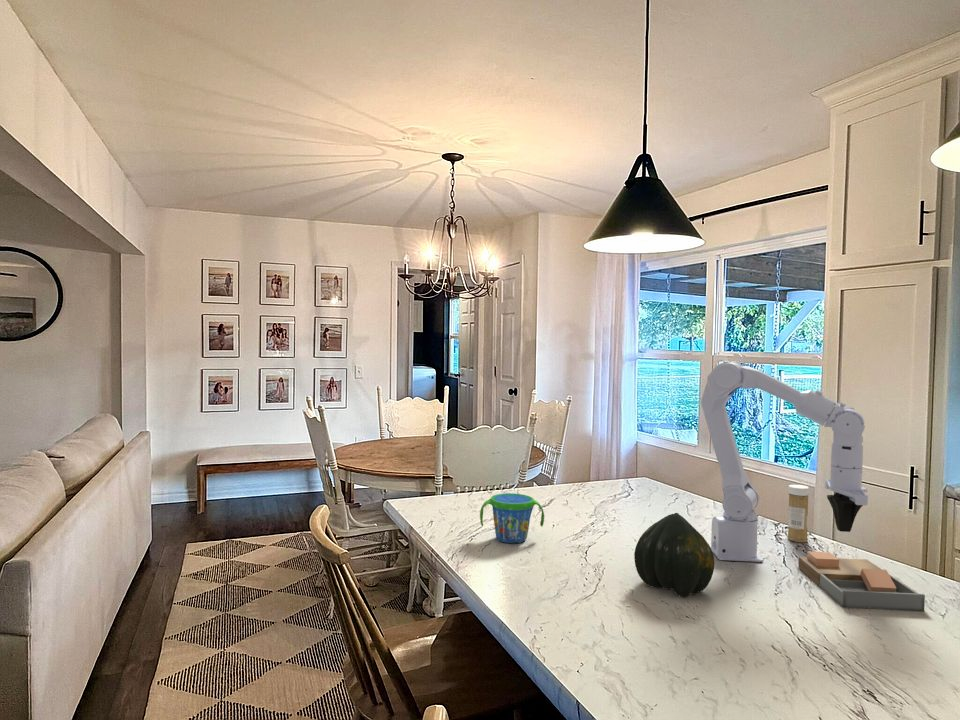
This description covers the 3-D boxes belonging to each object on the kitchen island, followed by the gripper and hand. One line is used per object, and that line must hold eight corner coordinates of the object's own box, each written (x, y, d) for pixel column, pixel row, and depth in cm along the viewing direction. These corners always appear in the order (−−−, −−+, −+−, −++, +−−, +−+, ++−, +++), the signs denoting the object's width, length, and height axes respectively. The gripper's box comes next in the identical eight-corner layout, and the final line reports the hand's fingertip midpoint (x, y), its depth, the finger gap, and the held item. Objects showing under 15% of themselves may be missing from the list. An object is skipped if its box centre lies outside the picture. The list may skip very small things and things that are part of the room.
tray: (843, 607, 116) (843, 591, 116) (819, 586, 126) (819, 571, 126) (924, 611, 115) (924, 594, 115) (893, 589, 125) (894, 574, 125)
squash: (662, 581, 113) (702, 512, 118) (609, 559, 126) (646, 497, 131) (705, 623, 118) (742, 555, 123) (649, 597, 131) (684, 536, 136)
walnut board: (818, 585, 127) (818, 573, 126) (798, 567, 136) (798, 556, 136) (892, 588, 125) (892, 576, 125) (866, 570, 135) (867, 559, 135)
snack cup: (543, 534, 158) (543, 493, 158) (544, 547, 148) (545, 504, 147) (480, 532, 159) (481, 491, 159) (478, 545, 149) (478, 502, 148)
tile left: (816, 566, 131) (816, 558, 130) (807, 558, 135) (807, 551, 135) (839, 567, 130) (839, 559, 130) (829, 559, 135) (829, 552, 135)
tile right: (869, 592, 122) (871, 586, 121) (860, 574, 126) (862, 568, 125) (894, 594, 122) (896, 588, 121) (884, 575, 125) (886, 569, 125)
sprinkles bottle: (811, 541, 155) (813, 486, 155) (801, 544, 152) (802, 488, 152) (793, 536, 159) (794, 483, 158) (783, 539, 156) (784, 485, 156)
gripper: (885, 474, 124) (882, 542, 125) (850, 460, 139) (847, 521, 139) (847, 473, 125) (844, 540, 126) (816, 459, 140) (814, 520, 140)
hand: (843, 530), depth 132 cm, fingers closed
